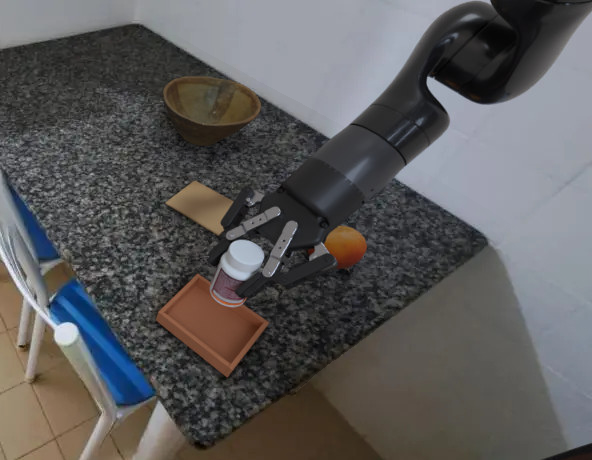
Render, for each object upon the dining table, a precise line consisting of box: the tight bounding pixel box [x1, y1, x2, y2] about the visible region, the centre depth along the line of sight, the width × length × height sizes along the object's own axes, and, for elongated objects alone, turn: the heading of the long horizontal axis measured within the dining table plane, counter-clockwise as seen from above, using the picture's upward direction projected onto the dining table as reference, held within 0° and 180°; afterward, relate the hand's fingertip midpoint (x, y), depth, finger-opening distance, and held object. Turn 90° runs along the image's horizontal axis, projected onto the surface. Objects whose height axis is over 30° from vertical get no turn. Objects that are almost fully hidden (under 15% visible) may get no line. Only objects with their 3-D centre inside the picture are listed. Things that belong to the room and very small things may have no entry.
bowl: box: [162, 75, 262, 147], centre depth 90 cm, size 22×23×10 cm
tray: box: [155, 273, 270, 378], centre depth 57 cm, size 12×10×2 cm
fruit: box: [307, 225, 368, 274], centre depth 65 cm, size 8×8×8 cm
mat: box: [165, 180, 234, 237], centre depth 76 cm, size 12×10×1 cm
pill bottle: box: [210, 240, 265, 307], centre depth 49 cm, size 5×5×8 cm
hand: (224, 279), depth 48 cm, fingers closed on pill bottle, 4 cm apart
